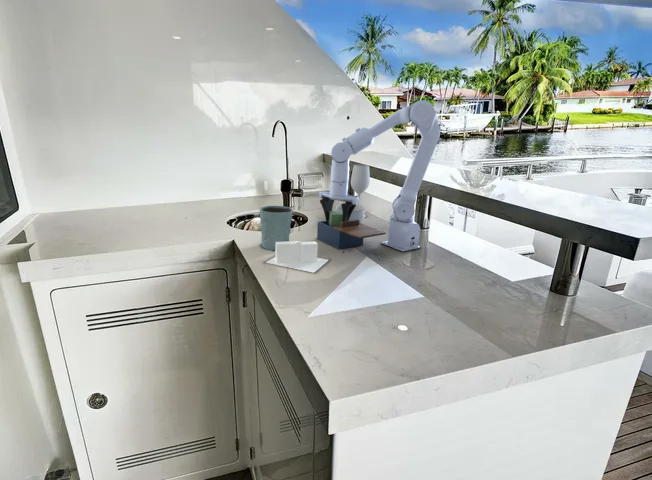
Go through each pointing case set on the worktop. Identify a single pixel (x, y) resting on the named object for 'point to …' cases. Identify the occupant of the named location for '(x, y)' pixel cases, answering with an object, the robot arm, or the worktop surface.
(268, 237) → the teal plant pot
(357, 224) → the tin lid
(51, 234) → the worktop surface
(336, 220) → the block
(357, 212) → the teacup
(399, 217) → the robot arm
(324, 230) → the tin
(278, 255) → the twin cubes on base
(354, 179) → the wineglass
